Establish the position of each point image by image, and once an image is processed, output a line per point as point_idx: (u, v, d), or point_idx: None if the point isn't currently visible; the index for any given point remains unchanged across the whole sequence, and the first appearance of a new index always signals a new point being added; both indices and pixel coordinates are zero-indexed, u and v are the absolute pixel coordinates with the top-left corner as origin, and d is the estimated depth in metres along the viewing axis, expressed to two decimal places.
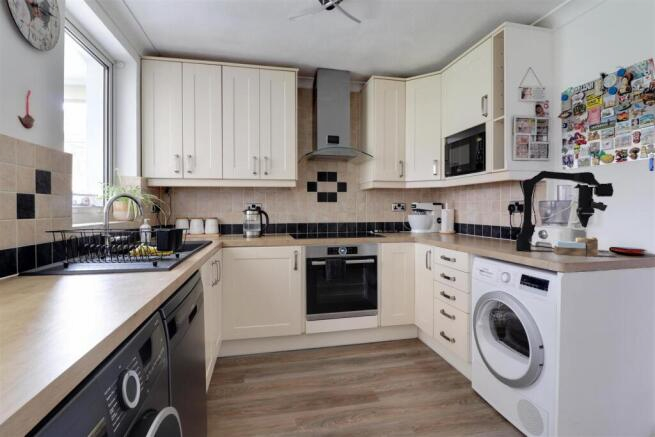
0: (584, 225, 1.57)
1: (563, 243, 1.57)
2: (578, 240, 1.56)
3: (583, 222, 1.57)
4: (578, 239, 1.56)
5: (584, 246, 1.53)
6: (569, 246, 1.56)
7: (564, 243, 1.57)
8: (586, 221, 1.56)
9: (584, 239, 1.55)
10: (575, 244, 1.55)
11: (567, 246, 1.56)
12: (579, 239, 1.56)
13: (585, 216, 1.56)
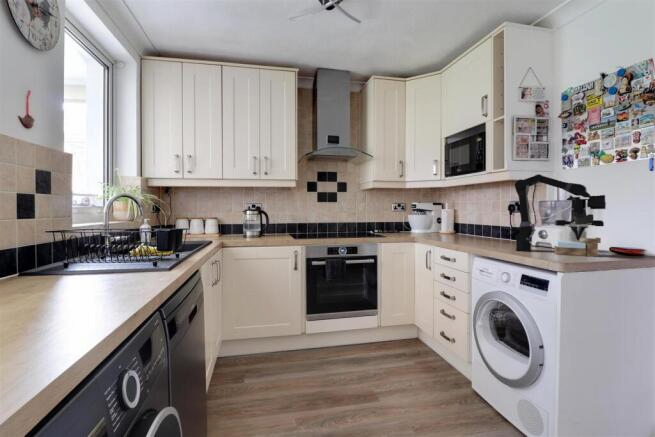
0: (576, 237, 1.58)
1: (563, 243, 1.57)
2: (582, 240, 1.56)
3: (574, 234, 1.58)
4: (582, 239, 1.56)
5: (584, 246, 1.53)
6: (569, 246, 1.56)
7: (564, 243, 1.57)
8: (575, 233, 1.57)
9: None
10: (575, 244, 1.55)
11: (567, 246, 1.56)
12: (583, 239, 1.55)
13: None
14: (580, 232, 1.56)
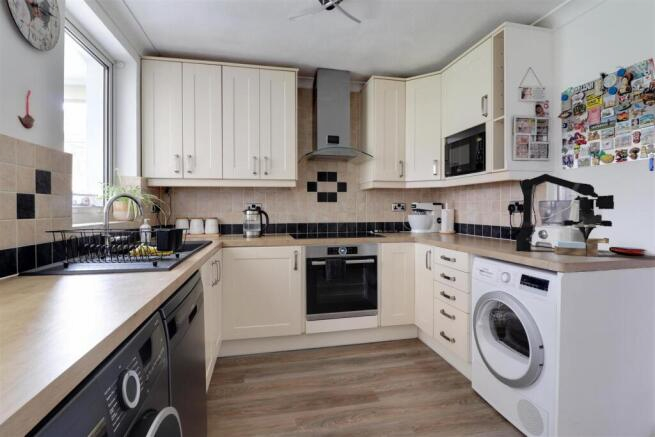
0: None
1: (563, 243, 1.57)
2: None
3: (582, 235, 1.57)
4: None
5: (584, 246, 1.53)
6: (569, 246, 1.56)
7: (564, 243, 1.57)
8: (582, 234, 1.56)
9: None
10: (575, 244, 1.55)
11: (567, 246, 1.56)
12: None
13: None
14: (588, 232, 1.54)
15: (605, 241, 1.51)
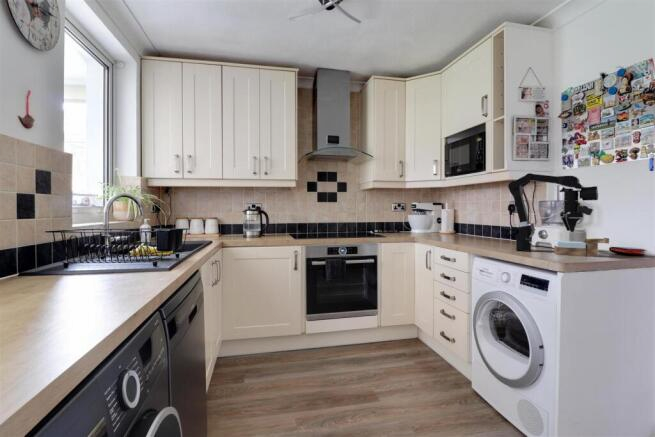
0: (571, 229, 1.55)
1: (563, 243, 1.57)
2: None
3: (570, 226, 1.55)
4: None
5: (584, 246, 1.53)
6: (569, 246, 1.56)
7: (564, 243, 1.57)
8: (573, 225, 1.54)
9: None
10: (575, 244, 1.55)
11: (567, 246, 1.56)
12: None
13: (572, 220, 1.54)
14: None
15: (605, 241, 1.51)
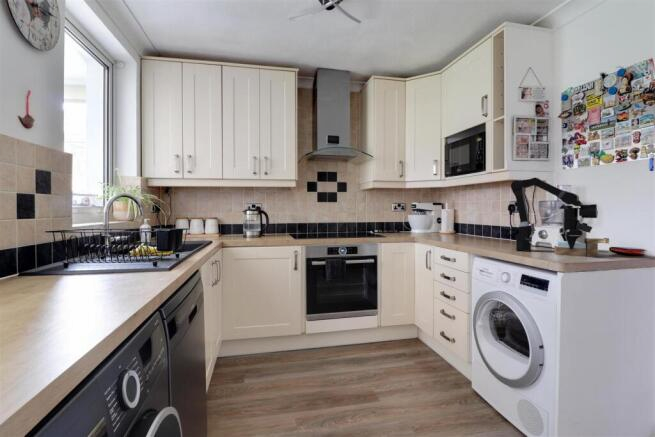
0: (571, 247, 1.55)
1: (563, 243, 1.57)
2: None
3: (570, 244, 1.55)
4: None
5: (584, 246, 1.53)
6: None
7: (564, 243, 1.57)
8: (573, 243, 1.54)
9: None
10: (575, 244, 1.55)
11: (567, 246, 1.56)
12: None
13: (572, 238, 1.54)
14: None
15: (605, 241, 1.51)
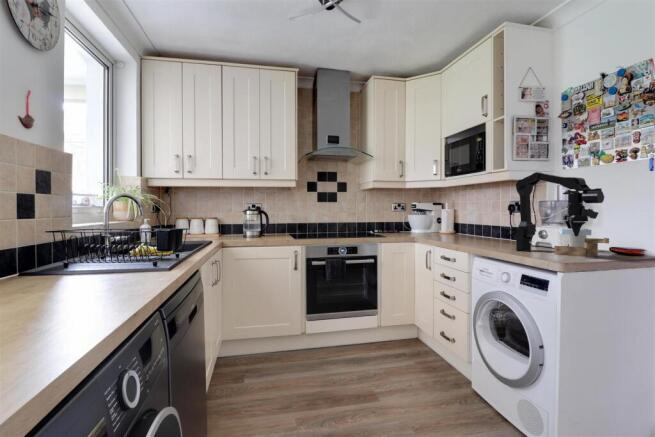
0: (576, 234, 1.47)
1: (567, 230, 1.49)
2: None
3: (575, 231, 1.47)
4: None
5: (590, 233, 1.45)
6: None
7: (568, 230, 1.49)
8: (578, 230, 1.46)
9: None
10: (580, 231, 1.47)
11: (572, 233, 1.48)
12: None
13: (577, 224, 1.46)
14: None
15: (605, 241, 1.51)
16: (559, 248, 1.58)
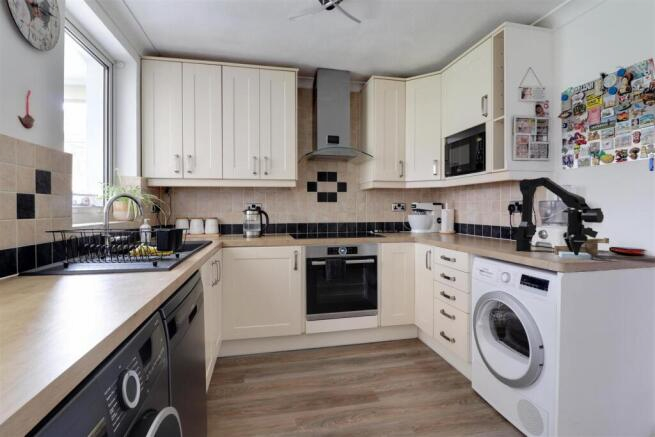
0: (576, 253, 1.47)
1: (566, 255, 1.49)
2: None
3: (575, 250, 1.46)
4: None
5: (589, 258, 1.46)
6: (573, 257, 1.48)
7: (568, 254, 1.49)
8: (578, 249, 1.46)
9: None
10: (579, 256, 1.47)
11: (571, 257, 1.49)
12: None
13: (577, 243, 1.46)
14: None
15: (605, 241, 1.51)
16: (559, 248, 1.58)
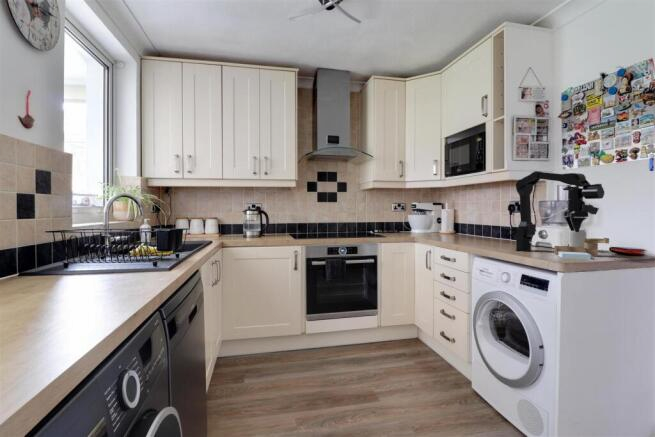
0: (576, 230, 1.46)
1: (567, 255, 1.49)
2: None
3: (575, 226, 1.46)
4: None
5: (589, 258, 1.46)
6: None
7: (568, 254, 1.49)
8: (578, 225, 1.45)
9: None
10: (580, 256, 1.47)
11: None
12: None
13: (577, 220, 1.45)
14: None
15: (605, 241, 1.51)
16: (559, 248, 1.58)
